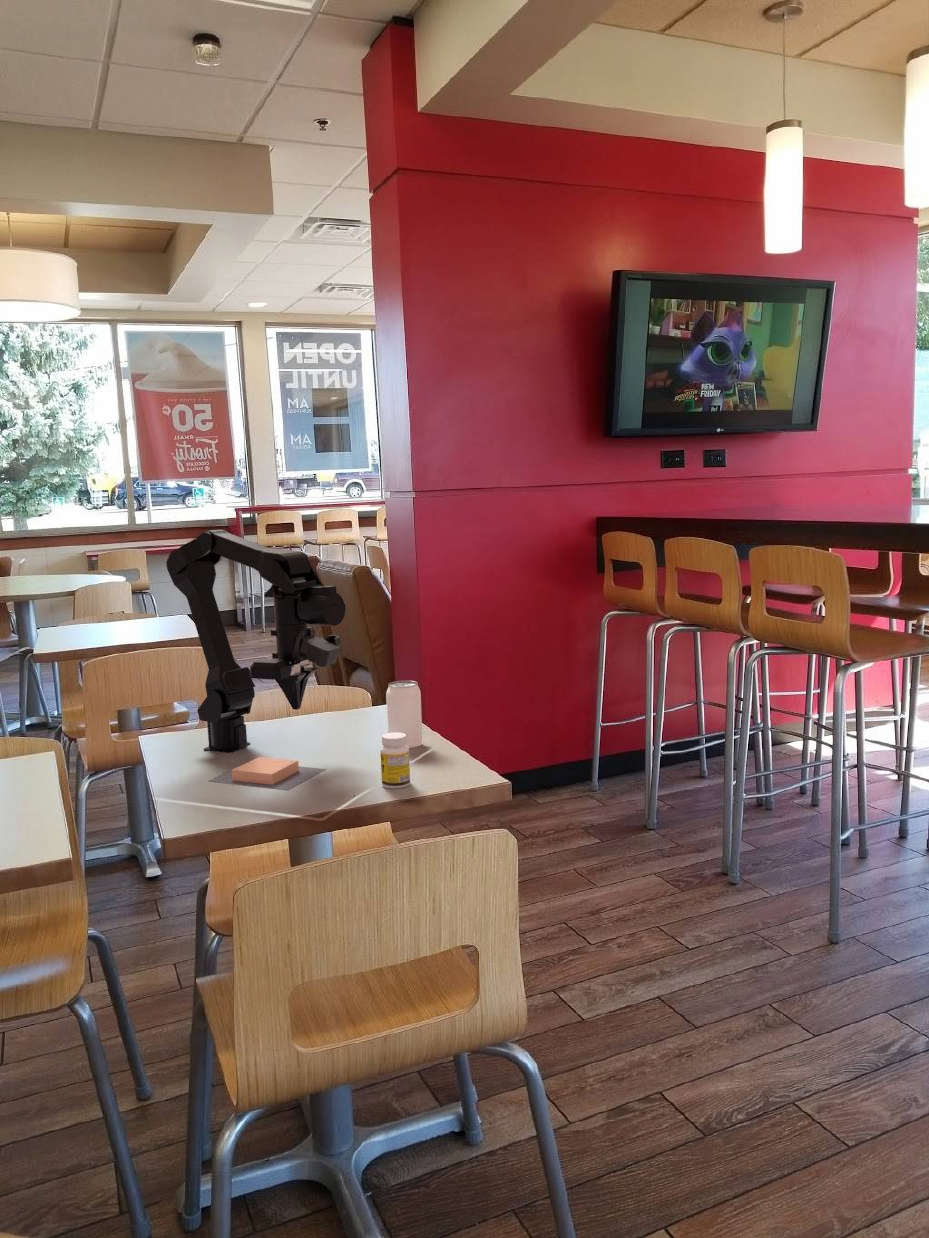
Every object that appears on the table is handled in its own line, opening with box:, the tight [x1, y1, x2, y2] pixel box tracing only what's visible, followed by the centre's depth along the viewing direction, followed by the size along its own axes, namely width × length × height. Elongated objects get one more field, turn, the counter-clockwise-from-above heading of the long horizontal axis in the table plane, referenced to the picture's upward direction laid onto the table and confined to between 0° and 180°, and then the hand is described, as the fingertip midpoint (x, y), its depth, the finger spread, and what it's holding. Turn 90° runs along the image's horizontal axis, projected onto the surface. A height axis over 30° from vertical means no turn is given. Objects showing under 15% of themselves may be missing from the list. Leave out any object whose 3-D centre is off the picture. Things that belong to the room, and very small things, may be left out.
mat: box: [208, 760, 327, 791], centre depth 161 cm, size 16×12×1 cm
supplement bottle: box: [379, 732, 411, 790], centre depth 154 cm, size 5×5×8 cm
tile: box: [231, 756, 300, 785], centre depth 160 cm, size 8×2×8 cm
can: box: [385, 680, 423, 749], centre depth 177 cm, size 6×6×12 cm
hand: (296, 709), depth 168 cm, fingers closed
